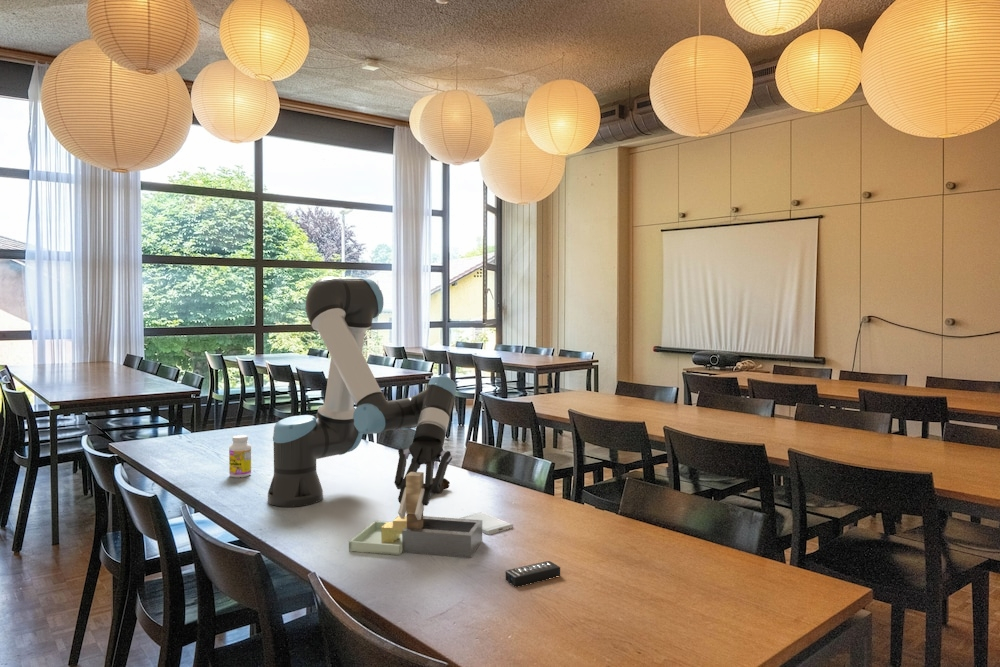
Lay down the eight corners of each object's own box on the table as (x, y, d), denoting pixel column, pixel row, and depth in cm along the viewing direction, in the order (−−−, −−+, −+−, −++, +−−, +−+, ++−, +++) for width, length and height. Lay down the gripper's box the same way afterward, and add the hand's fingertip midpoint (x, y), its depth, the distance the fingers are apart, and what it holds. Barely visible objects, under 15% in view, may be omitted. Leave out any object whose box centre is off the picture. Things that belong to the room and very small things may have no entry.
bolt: (448, 496, 206) (413, 506, 194) (437, 485, 208) (403, 494, 196) (455, 480, 204) (422, 490, 192) (444, 470, 206) (410, 478, 194)
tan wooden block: (393, 533, 158) (392, 520, 158) (399, 528, 162) (398, 515, 161) (407, 534, 157) (406, 521, 157) (413, 528, 161) (412, 516, 161)
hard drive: (457, 518, 175) (487, 530, 166) (482, 511, 180) (513, 523, 171) (457, 524, 175) (488, 537, 166) (482, 517, 181) (513, 529, 171)
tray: (348, 551, 154) (348, 541, 154) (374, 529, 169) (374, 521, 169) (399, 555, 152) (399, 545, 152) (420, 533, 166) (420, 524, 166)
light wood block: (393, 542, 158) (381, 542, 159) (399, 537, 162) (387, 536, 163) (393, 527, 158) (381, 527, 158) (399, 522, 162) (387, 521, 162)
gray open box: (402, 552, 154) (402, 530, 153) (418, 536, 164) (417, 515, 164) (470, 557, 150) (470, 535, 150) (482, 541, 161) (482, 520, 161)
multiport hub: (561, 578, 140) (561, 567, 140) (515, 589, 135) (515, 577, 135) (549, 571, 144) (549, 560, 144) (504, 581, 139) (504, 570, 139)
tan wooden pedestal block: (405, 531, 157) (405, 475, 156) (411, 525, 161) (411, 471, 160) (418, 532, 156) (418, 476, 155) (424, 526, 160) (424, 471, 160)
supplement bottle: (224, 476, 220) (224, 437, 219) (239, 472, 226) (239, 433, 225) (241, 479, 217) (240, 439, 216) (255, 474, 223) (255, 435, 223)
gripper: (465, 440, 171) (447, 526, 155) (403, 437, 174) (379, 521, 159) (460, 423, 165) (440, 510, 150) (396, 420, 169) (370, 505, 153)
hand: (409, 516), depth 154 cm, fingers closed on tan wooden pedestal block, 3 cm apart
